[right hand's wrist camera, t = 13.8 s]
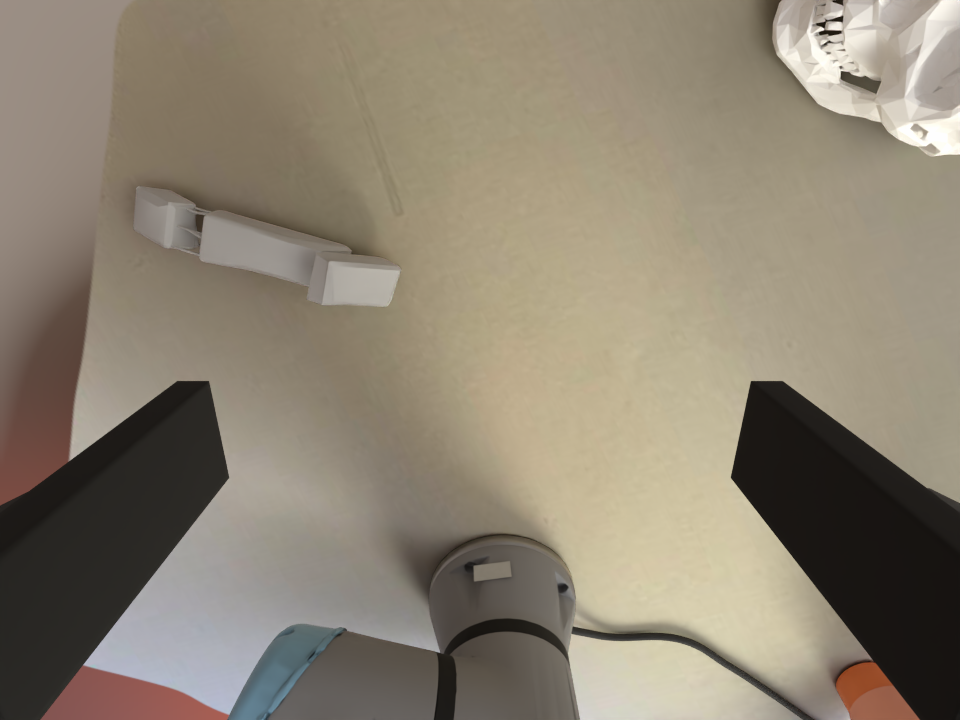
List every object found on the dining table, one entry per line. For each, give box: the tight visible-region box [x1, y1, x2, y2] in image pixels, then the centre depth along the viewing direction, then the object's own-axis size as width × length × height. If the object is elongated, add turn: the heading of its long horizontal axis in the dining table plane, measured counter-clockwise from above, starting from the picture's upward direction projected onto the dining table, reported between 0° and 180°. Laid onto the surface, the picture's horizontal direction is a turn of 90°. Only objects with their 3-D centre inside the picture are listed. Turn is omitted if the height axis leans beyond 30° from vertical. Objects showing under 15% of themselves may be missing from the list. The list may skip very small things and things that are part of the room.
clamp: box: [133, 186, 401, 307], centre depth 39 cm, size 20×4×7 cm, turn 73°
